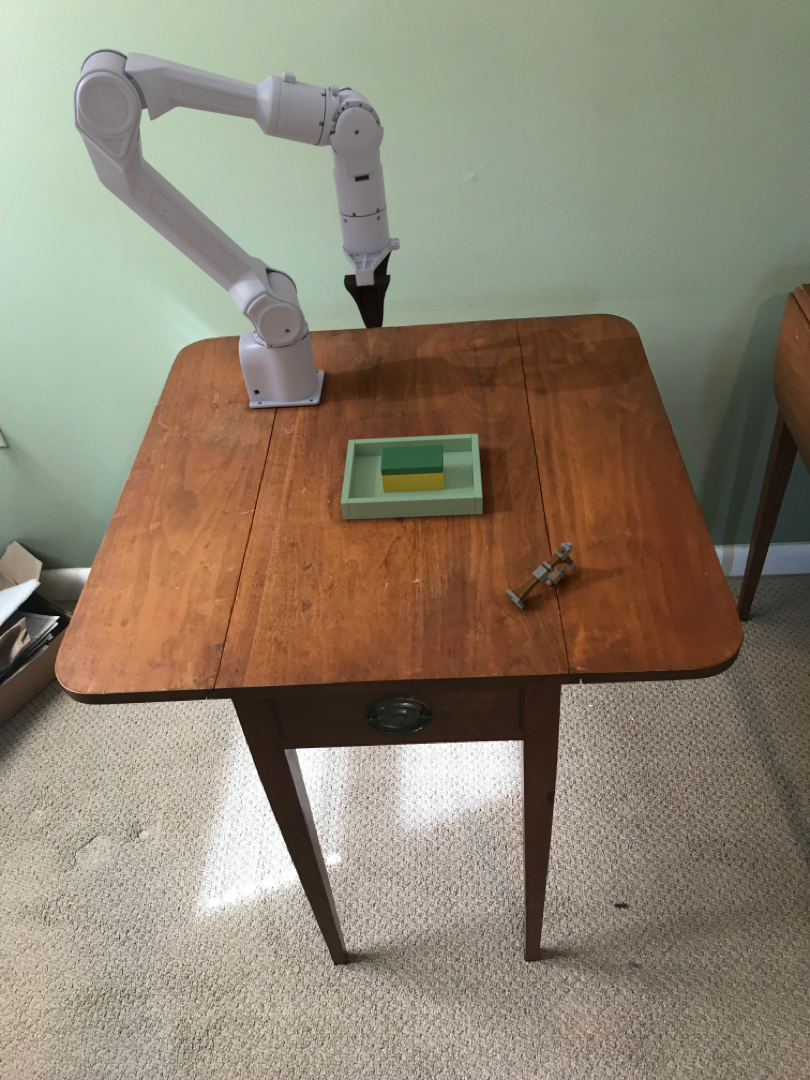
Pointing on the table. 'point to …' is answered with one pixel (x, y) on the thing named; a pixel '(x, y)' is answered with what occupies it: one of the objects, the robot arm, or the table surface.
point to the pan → (371, 502)
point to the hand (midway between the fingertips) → (375, 312)
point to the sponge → (412, 468)
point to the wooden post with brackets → (544, 573)
